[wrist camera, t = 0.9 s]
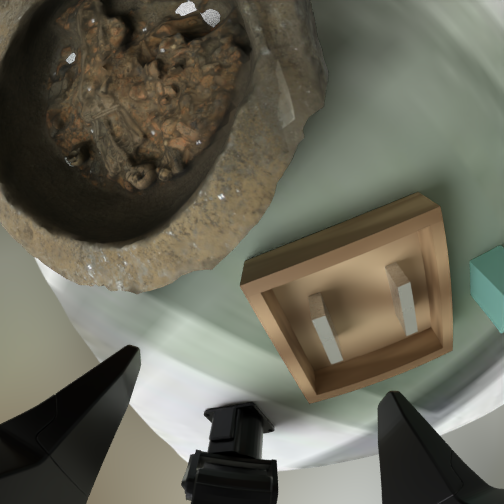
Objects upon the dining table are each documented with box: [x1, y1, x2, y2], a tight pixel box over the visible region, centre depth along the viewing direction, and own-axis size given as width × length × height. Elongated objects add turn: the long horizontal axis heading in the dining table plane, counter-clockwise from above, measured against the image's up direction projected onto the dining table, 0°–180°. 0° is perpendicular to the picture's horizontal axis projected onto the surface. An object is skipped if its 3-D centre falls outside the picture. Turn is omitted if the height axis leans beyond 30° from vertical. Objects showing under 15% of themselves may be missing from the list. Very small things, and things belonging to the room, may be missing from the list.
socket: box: [308, 262, 418, 364], centre depth 21 cm, size 5×7×3 cm
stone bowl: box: [0, 0, 328, 294], centre depth 14 cm, size 25×25×9 cm
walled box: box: [240, 192, 453, 404], centre depth 22 cm, size 14×14×4 cm
